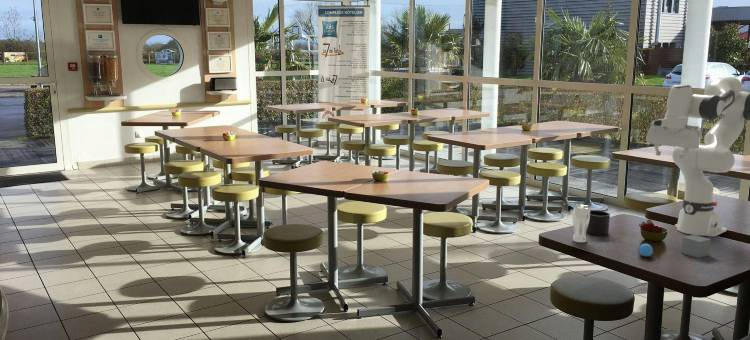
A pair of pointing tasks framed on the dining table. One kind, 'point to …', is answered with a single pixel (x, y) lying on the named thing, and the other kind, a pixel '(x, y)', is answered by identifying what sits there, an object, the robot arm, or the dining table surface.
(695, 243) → the grey block
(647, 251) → the ball
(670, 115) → the robot arm
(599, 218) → the mug
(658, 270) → the dining table surface
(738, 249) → the dining table surface
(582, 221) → the beer glass
